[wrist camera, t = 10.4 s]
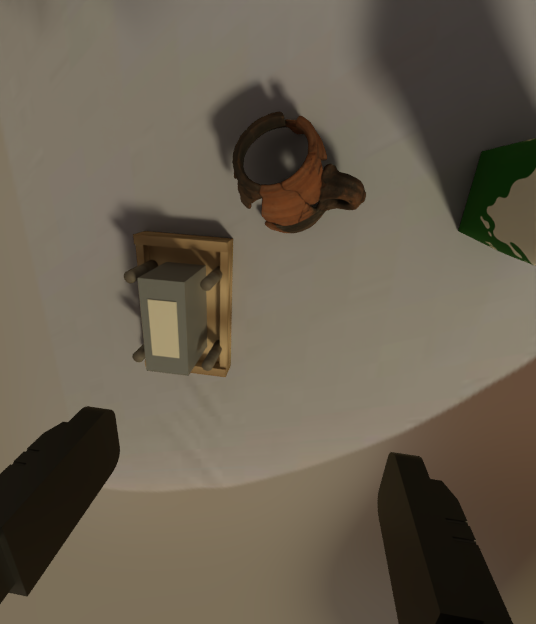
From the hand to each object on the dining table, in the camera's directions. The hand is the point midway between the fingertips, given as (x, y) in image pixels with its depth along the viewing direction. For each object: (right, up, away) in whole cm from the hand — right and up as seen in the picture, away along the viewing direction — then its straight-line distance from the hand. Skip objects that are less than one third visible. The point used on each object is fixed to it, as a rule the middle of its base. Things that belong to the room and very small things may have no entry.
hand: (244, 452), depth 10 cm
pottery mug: (+4, +17, +23) cm, 29 cm away
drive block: (-9, +5, +29) cm, 30 cm away
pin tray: (-9, +5, +29) cm, 31 cm away
